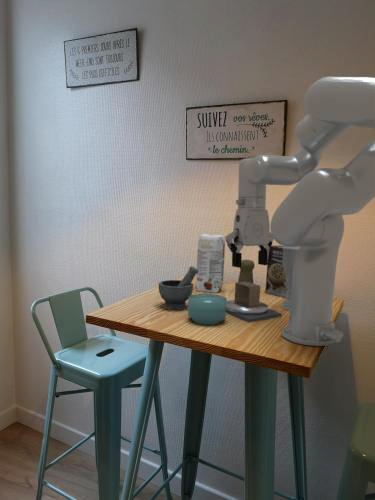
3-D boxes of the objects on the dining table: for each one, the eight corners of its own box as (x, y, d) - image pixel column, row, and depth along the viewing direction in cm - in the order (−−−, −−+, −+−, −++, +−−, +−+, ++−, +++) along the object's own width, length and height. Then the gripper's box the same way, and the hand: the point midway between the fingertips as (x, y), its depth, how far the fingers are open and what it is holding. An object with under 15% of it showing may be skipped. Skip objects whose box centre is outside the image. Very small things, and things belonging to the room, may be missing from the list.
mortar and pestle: (157, 310, 120) (159, 268, 118) (158, 302, 129) (159, 262, 127) (198, 311, 120) (199, 269, 119) (195, 303, 130) (197, 263, 128)
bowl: (233, 323, 112) (234, 300, 111) (202, 328, 106) (203, 305, 105) (210, 313, 120) (211, 292, 119) (180, 318, 114) (181, 296, 113)
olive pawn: (253, 294, 143) (255, 262, 141) (235, 293, 144) (237, 260, 143) (254, 290, 149) (256, 259, 147) (237, 289, 150) (238, 258, 148)
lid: (276, 311, 121) (278, 286, 120) (244, 317, 114) (245, 290, 113) (248, 301, 131) (249, 278, 130) (216, 306, 124) (217, 281, 123)
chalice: (282, 303, 134) (286, 245, 131) (303, 306, 130) (308, 247, 128) (274, 308, 127) (278, 248, 125) (297, 312, 124) (302, 250, 121)
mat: (281, 316, 119) (281, 313, 119) (249, 322, 113) (249, 319, 112) (241, 301, 133) (241, 299, 133) (210, 306, 127) (210, 303, 126)
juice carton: (219, 294, 142) (222, 236, 139) (194, 291, 144) (196, 235, 142) (223, 289, 149) (226, 234, 146) (199, 286, 151) (202, 233, 149)
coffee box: (264, 292, 146) (267, 245, 144) (275, 290, 150) (278, 244, 148) (286, 298, 140) (290, 249, 137) (298, 295, 144) (301, 248, 142)
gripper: (236, 203, 111) (234, 269, 112) (284, 204, 120) (281, 265, 122) (218, 203, 117) (217, 266, 118) (265, 204, 126) (263, 262, 128)
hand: (249, 265), depth 120 cm, fingers open, 9 cm apart
